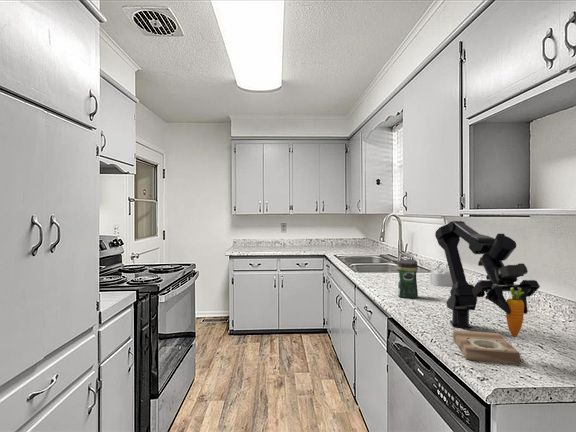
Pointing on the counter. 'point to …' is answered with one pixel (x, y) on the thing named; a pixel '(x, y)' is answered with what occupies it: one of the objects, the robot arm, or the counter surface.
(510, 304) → the carrot
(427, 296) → the counter surface
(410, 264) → the coffee jar
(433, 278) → the lumpy-topped squat cylinder
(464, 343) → the hole board
